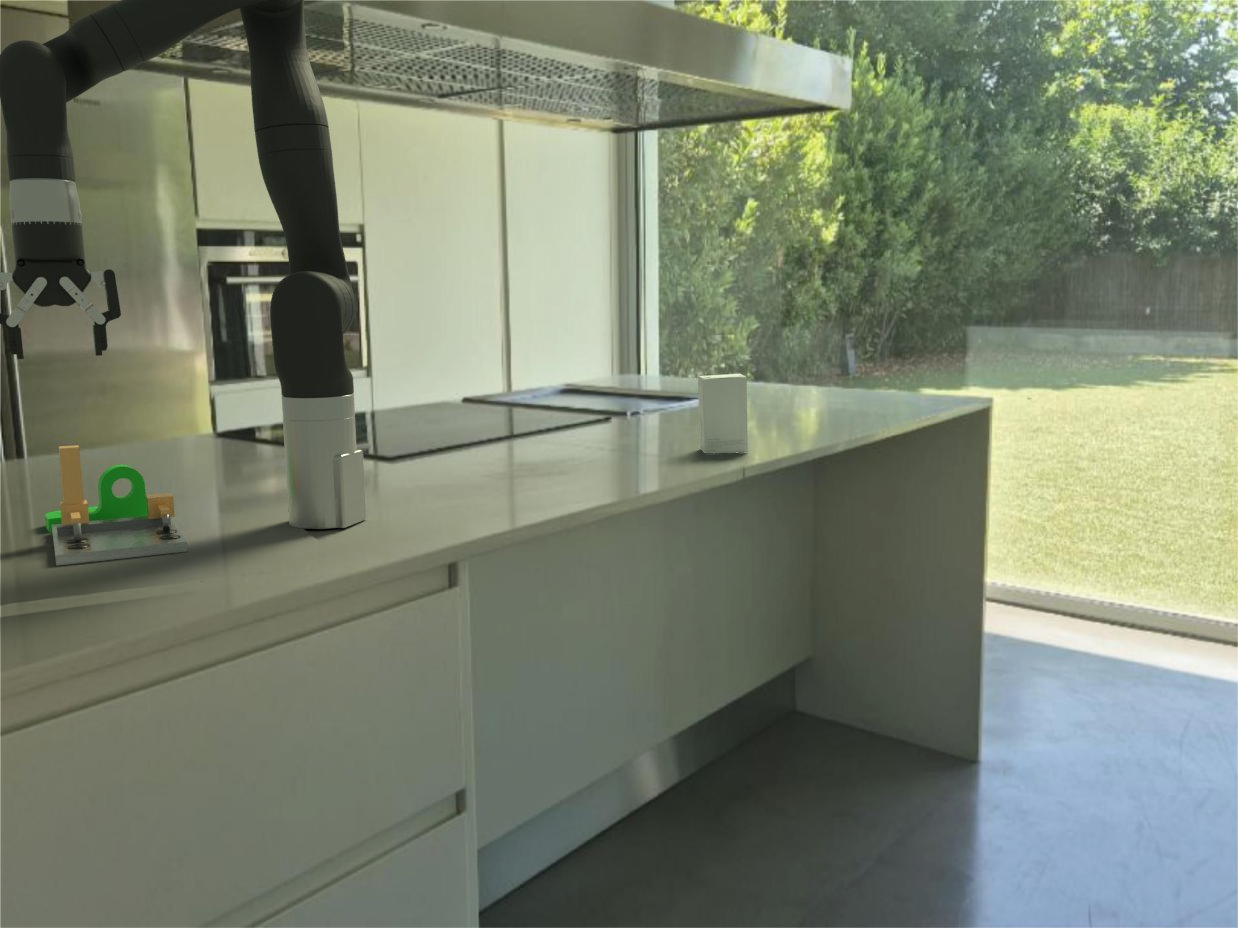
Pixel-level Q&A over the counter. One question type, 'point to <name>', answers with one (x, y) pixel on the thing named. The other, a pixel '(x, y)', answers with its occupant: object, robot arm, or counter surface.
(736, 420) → the skincare box
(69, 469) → the leg
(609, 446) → the counter surface
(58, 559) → the plate
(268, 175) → the robot arm
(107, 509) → the mechanical part
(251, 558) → the counter surface
